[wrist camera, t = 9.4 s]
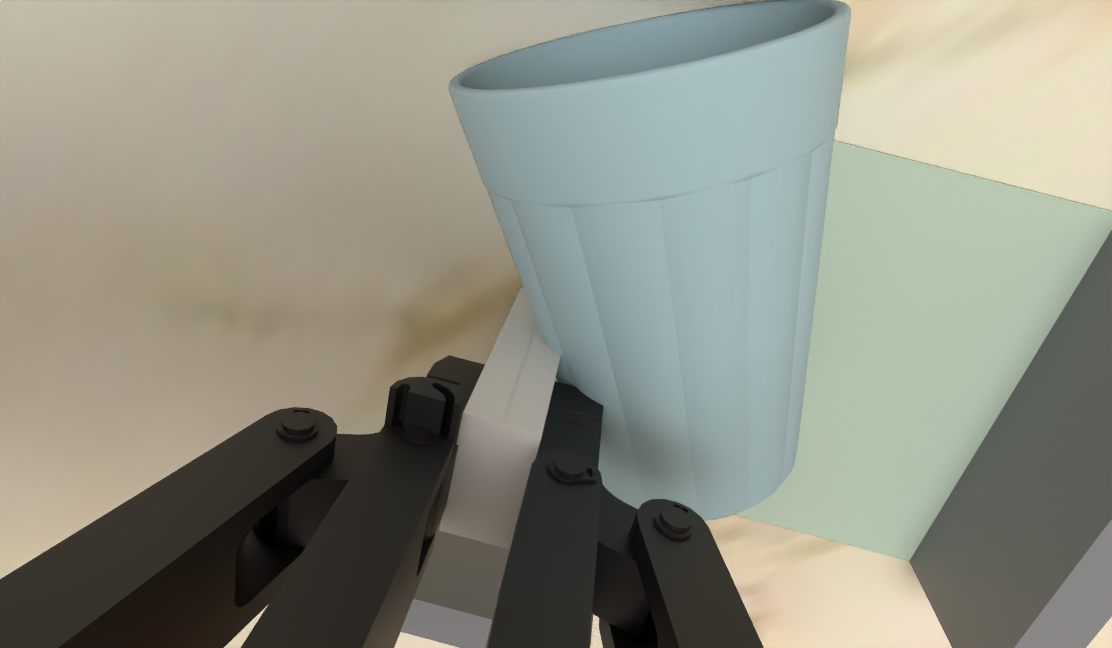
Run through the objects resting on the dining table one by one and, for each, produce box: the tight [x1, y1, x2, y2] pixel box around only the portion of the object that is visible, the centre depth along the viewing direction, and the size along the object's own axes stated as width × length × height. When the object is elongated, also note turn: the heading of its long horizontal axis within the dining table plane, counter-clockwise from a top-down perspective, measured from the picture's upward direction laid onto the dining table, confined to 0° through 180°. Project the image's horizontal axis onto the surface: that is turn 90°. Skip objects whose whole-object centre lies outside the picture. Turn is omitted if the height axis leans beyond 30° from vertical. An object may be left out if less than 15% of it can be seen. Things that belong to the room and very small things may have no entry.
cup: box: [448, 0, 851, 521], centre depth 16 cm, size 8×8×10 cm
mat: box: [734, 140, 1112, 561], centre depth 20 cm, size 9×12×1 cm
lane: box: [400, 520, 593, 648], centre depth 18 cm, size 12×21×4 cm, turn 167°
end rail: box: [910, 230, 1112, 648], centre depth 17 cm, size 2×12×5 cm, turn 167°
